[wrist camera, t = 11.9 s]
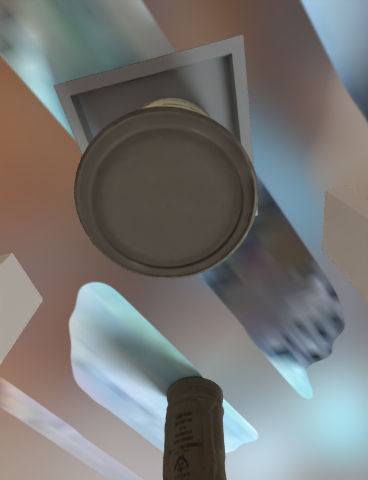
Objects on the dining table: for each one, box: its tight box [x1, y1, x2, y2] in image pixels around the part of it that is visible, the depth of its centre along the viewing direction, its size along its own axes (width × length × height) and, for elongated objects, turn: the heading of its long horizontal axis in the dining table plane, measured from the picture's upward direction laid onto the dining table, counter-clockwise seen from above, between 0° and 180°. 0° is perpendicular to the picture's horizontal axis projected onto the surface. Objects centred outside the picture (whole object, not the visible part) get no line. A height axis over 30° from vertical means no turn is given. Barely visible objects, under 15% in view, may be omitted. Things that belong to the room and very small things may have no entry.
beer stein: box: [163, 377, 226, 480], centre depth 42 cm, size 15×11×20 cm
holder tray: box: [54, 35, 258, 216], centre depth 26 cm, size 16×16×3 cm
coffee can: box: [74, 98, 258, 279], centre depth 21 cm, size 10×10×14 cm
